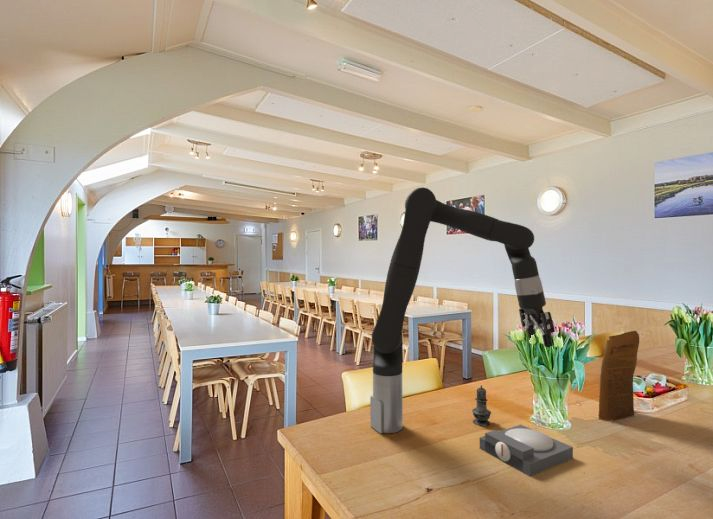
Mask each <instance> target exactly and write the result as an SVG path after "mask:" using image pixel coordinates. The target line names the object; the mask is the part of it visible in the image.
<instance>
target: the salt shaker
mask: <svg viewBox="0 0 713 519" xmlns="http://www.w3.org/2000/svg"><path fill="white" fill-rule="evenodd" d="M475 400H476V401H475V402H476V407H475V408H473V409H472V410H471V412H472V416H474V417H473V418H475V419H473V420H472V423H473V424H475V425H476V426H479V427H480V426H481V427H488V426H491V422H490V421H489V419H490V417H491V414H492V411H491V410H490V409H488V408H487V402H488V399H487V390H486V389H485V388H484V387H483V385H482V384H481V385H480V387H478V388H477V389H476V398H475Z"/></svg>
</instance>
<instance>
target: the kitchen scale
mask: <svg viewBox="0 0 713 519" xmlns="http://www.w3.org/2000/svg"><path fill="white" fill-rule="evenodd" d="M479 450H482V451H483V452H485V453H487V454H489V455H490V456H493V457H495V458H496V459H498V460H499V461H502V462H503V463H506V464H507V465H509V466H511V467H513V468H514V469H516V470H518V471H520V473H521V472H522V473H523V474H525V475H527V476H528V477H531V476H535V475H537V474H539V473H541V472H544V471H547V470H548V469H549V470H550V469H551V468H553V467H556V466H559V465H561V464H563V463H565V462H568V461H570V460H573V458H574V453H573V452H574V447H573V446H571V445H569V444H566V443H564V442H562V441H559V440H557V439H555V438H552V437H551V436H550V435H547V434H546V433H543V432H541V431H538V430H535V429H532V428H530V427H527V426H524V425H522V424H519V425H516V426H512V427H509V428H506V429H503V430H496V429H494V430H491V431H487V432H485V433H484V435H483V436H480V437H479Z"/></svg>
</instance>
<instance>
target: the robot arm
mask: <svg viewBox="0 0 713 519" xmlns="http://www.w3.org/2000/svg"><path fill="white" fill-rule="evenodd" d="M404 209H405V211H404V218H403V224H402V228H401V232H400V235H399V238H398V239H397V242H396V245H395V247H394V250H393V253H392V255H391V257H390V258H391V259H390V262H389V266H388V269H387V274H386V280H385V284H384V285H385V286H384V291H383V299H382V304H381V307H380V311H379V315H378V317H377V318H378V319H377V320H376V323H375V326H374V328H373V330H372V332H371V341H372V344H373V360H372V395H370V396H369V397H370V407H369V409H370V427H371V428H373V430H375V431H377V433H379V434H394V433H398V432H400V431H401V430H403V425H404V424H403V422H404V421H403V420H404V418H403V416H404V414H403V413H404V412H403V411H404V409H403V401H404V400H403V364H404V363H403V362H404V360H403V359H404V357H403V356H404V355H403V353H404V352H403V346H404V344H403V340H404V339H403V328H404V321H405V316H406V312H407V309H408V306H409V304H410V301H411V298H412V296H413V293H414V291H415V286H416V284H417V281H418V277H419V273H420V270H421V264H422V259H423V255H424V249H425V248H424V247H425V241H426V237H427V233H428V229H429V227H430V223H431V222H432V223H436V224H440V225H444V226H448V227H449V228H450V227H451V228H453V229H456V230H458V231H461V232H464V233H466V234H469V235H472V236H475V237H477V238H480V239H483V240H486V241H490V242H497V243H500V244H503V245H504V249H505V252H506V254H507V257H508V260H509V261H510V264H511V269H512V274H513V279H514V287H515V292H516V298H517V301H518V306H519V309H518V312H519V317H520V324H521V326H522V328H524V329H525V330H526V332H527V335H528V341H529V340H530V338H531V335H533V334H535V333H536V329H538V330H539V331H540V333H541V336H542V340H543V341H542V342H543V346H544V347H545V348H551V347H553V340H552V333H555V332H556V330H555V326H554V323H553V322H554V321H553V319H552V314H551V312H550V311H546V312H545V310H544V309H543V307H545V306H546V304H547V301H546V298H545V294H544V289H543V288H544V287H543V283H542V280H541V278H540V274H539V270H538V269H539V268H538V265H537V261H536V259H535V258H534V257H533V256H532V255H531V252H530V249H529V248H530V247H532V246H533V244H534V242H535V234H534V232H533V231H532V230H531V229H530V228H528V227H526V226H524V225H521V224H518V223H513V222H510V221H504V220H500V219H498V218H495V217H493V216H491V215H490V216H489V215H487V214H484V213H481V212H477V211H474V210H469V209H466V208H465V209H463V208H459V207H455V206H452V205H450V204H446V203H443V202H441V201H439V200H437V198H436V196H435V194H434V192H433V191H432V190H431V189H429V188H427V187H424V186H423V187H418V188H415V189H413V190H412V191H411V192H410V193H408V195H407V196H406V199H405V203H404ZM523 320H524V321H523ZM535 327H536V328H535Z"/></svg>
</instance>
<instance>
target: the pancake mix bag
mask: <svg viewBox="0 0 713 519" xmlns="http://www.w3.org/2000/svg"><path fill="white" fill-rule="evenodd" d="M639 345H640V334H639V333H638V331H637V330H632V331H626V332H623V333H620V334H614V335H611V336H608V339H606V344H605V348H604V352H603V356H602V360H601V365H600V366H601V367H600V376H599V397H598V419H599V420H603V421H617V420H620V419H621V420H622V419H625V418H630V417H634V416H635V407H634V405H635V403H634V375H635V371H636V368H637V363H638V361H637V360H638V352H639Z"/></svg>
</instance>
